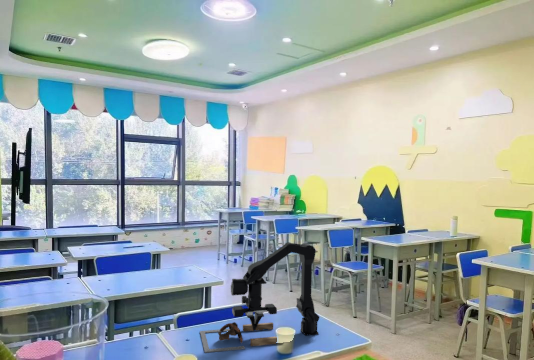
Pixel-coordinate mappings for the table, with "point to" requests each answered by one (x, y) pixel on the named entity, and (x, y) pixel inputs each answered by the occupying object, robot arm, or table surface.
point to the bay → (207, 350)
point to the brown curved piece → (230, 332)
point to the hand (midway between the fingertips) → (254, 330)
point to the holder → (261, 340)
